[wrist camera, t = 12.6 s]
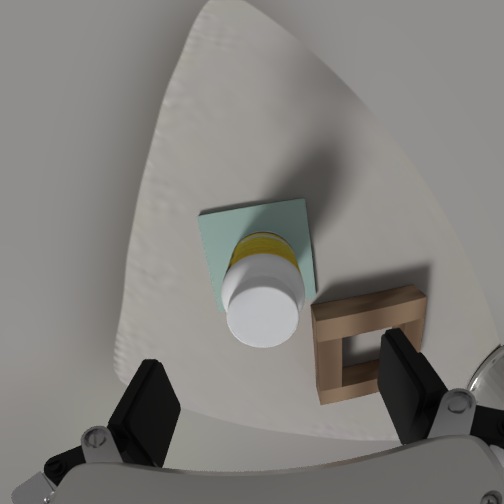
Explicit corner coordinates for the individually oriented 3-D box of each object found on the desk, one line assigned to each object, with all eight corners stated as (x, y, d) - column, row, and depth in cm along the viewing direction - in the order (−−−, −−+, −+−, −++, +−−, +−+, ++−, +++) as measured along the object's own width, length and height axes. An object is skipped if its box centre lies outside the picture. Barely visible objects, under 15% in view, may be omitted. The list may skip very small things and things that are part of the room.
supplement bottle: (226, 234, 24) (204, 278, 15) (291, 225, 24) (310, 265, 14) (236, 292, 26) (224, 361, 16) (297, 285, 25) (315, 351, 16)
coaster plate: (303, 197, 23) (304, 198, 23) (314, 295, 26) (315, 297, 26) (198, 215, 24) (197, 216, 24) (219, 309, 27) (219, 311, 26)
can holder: (413, 284, 26) (427, 296, 23) (403, 365, 29) (413, 381, 26) (310, 305, 26) (316, 321, 23) (316, 386, 30) (320, 405, 27)
